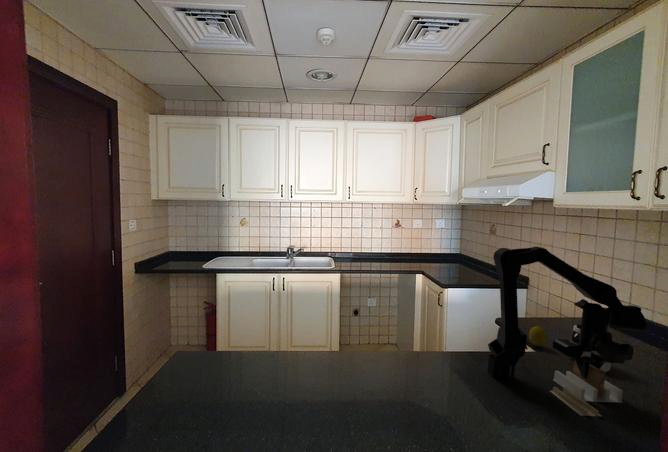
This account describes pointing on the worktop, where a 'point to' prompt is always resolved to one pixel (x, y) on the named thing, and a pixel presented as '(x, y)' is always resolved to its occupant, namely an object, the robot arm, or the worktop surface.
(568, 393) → the stand
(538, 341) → the lemon
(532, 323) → the worktop surface
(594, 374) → the board
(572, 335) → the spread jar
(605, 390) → the rack
